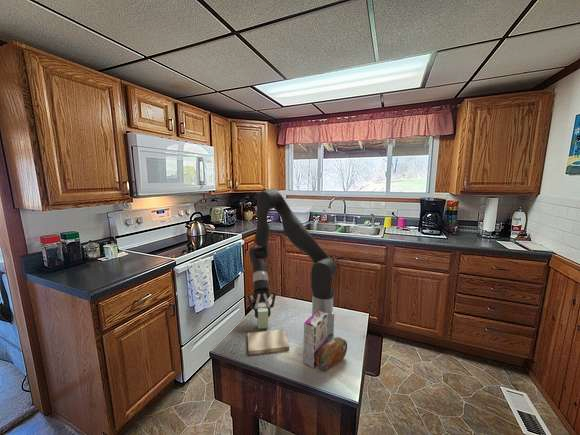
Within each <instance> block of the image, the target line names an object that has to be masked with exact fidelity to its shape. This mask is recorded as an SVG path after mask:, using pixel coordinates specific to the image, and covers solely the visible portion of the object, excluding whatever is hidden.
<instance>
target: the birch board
mask: <svg viewBox="0 0 580 435" xmlns="http://www.w3.org/2000/svg"><path fill="white" fill-rule="evenodd" d="M247 351H248V355H249V356H250V355H258V354H266V353H267V354H268V353H275V352H282V351H290V345H289V341H288V338H287V334H286V332H285V329H275V330H265V331H255V332H247Z"/></svg>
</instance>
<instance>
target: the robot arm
mask: <svg viewBox="0 0 580 435" xmlns="http://www.w3.org/2000/svg"><path fill="white" fill-rule="evenodd" d="M272 209H274V210H275V211H276V212H277V214H278V215H279V217H280V219H281V222H282V223H281V224H282V228H283V232H284V234H285V236H286V237H287V239H288V240H289V241H290V242H291V243H292V245H293V246H295V247H296V248H298V249H299V250H300V251H302V252H303V253H305V254H306V255H307V256H308V257H309V258H310V259H311V261H312V263H314V264H313V265H312V267H311V272H310V273H311V274H310V276H311V277H310V286H311V292H312V300H311V301H312V302H311V316H312V315H313V314H314V313H315V312H316V311H317V310H319V311H322V312H325V313H328V337H330V336H331V335H333V334H334V330H335V328H334V327H335V313H334V312H333V310H334V289H333V288H332V278H334V277H335V276H336V274H337V272H338V268H337V264H336V262H335V261H334V260H333V259H332V257H330V256H329V255H328V253H327V252H326V251H325V250H324V249H323V248H322V247H321V246H320V245H319V243H317V241H316V240H315V239H314V237H313V235H311V233H310V232H309V231H308V229H307V227H305V225H304V224H303V223H302V221H300V220H299V218H298V216H296V214H295V213H294V211H293V210H292V209H291V208H290V206H289V204H288V203H287V202H286V200H285V198H284V196H283V195H282V194H281V193H280V192H279V191H278V190H277V189H267V190H262V191H260V192H259V193H258V195H257V198H256V231H255V236H254V243H255V245H254V246H251V247H250V248H249V250H248V256H249V259H250V262H251V265H252V274H253V275H252V276H253V277H252V285H253V286H252V287H253V291H252V292H253V294H252V295H248V296H247V302H248V305H249V308H250V310H252V311H254V317H255V319H258V309H257V307H259V304H264V305H265V307H267V309H268V319H269V318H270V317H271V314H272V312H271V309H272V308H274V306H275V301H276V296H277V294H276V293H271V292H270V287H269V285H270V284H269V276H268V270H267V268H268V267H267V263H266V262H265V261H264V260H267V259H268V257H269V244H268V243H269V239H270V231H271V229H270V224H269V222H268V214H269V211H270V210H272ZM256 245H257V246H256ZM269 298H271V304H270V302H269ZM253 299H254V300H255V305H254V304H253Z"/></svg>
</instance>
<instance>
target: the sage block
mask: <svg viewBox="0 0 580 435" xmlns="http://www.w3.org/2000/svg"><path fill="white" fill-rule="evenodd" d="M257 309H258V319H257V322H256V323H257V329H267V328H269V318H268V309H267V306H258V307H257Z"/></svg>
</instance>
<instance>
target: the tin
mask: <svg viewBox="0 0 580 435" xmlns="http://www.w3.org/2000/svg"><path fill="white" fill-rule="evenodd" d="M347 350H348V342H347V341H346V339H344V338H341V337H335V338H333V339H331V340H329V341H327V343H326V344H325V345H323V346H322V347H321V348H320V349H319V351H318V353H317V358H316V363H317V366H316V367H318V368H319V369H321V370H322V371H324V372H327V371H329V370H330V369H332V368H334V367H335V366H336V365H337V364H339V363H340V362H342V361H343V360H344V358H345V357H346V355H347Z"/></svg>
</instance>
